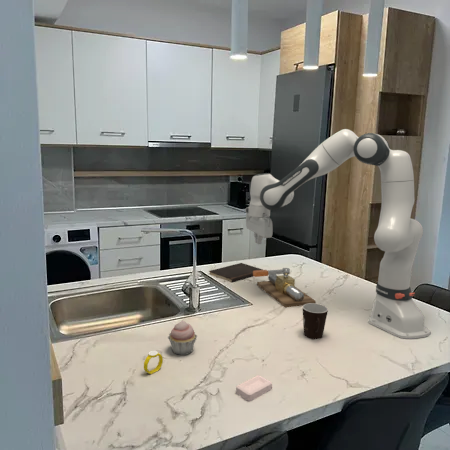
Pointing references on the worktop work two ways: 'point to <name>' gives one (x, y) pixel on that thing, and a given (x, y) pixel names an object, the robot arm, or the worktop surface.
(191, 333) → the cupcake
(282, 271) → the valve lever
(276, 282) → the valve body
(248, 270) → the hardcover book
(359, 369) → the worktop surface
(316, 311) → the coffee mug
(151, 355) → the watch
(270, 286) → the mount board
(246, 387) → the soap bar
